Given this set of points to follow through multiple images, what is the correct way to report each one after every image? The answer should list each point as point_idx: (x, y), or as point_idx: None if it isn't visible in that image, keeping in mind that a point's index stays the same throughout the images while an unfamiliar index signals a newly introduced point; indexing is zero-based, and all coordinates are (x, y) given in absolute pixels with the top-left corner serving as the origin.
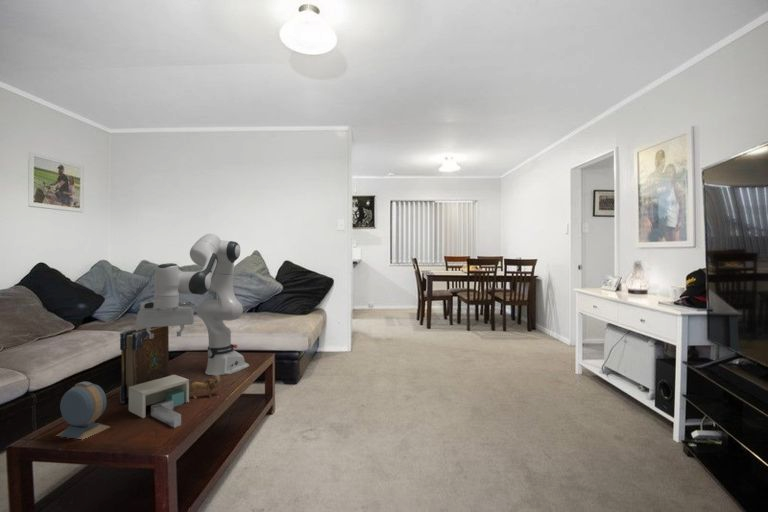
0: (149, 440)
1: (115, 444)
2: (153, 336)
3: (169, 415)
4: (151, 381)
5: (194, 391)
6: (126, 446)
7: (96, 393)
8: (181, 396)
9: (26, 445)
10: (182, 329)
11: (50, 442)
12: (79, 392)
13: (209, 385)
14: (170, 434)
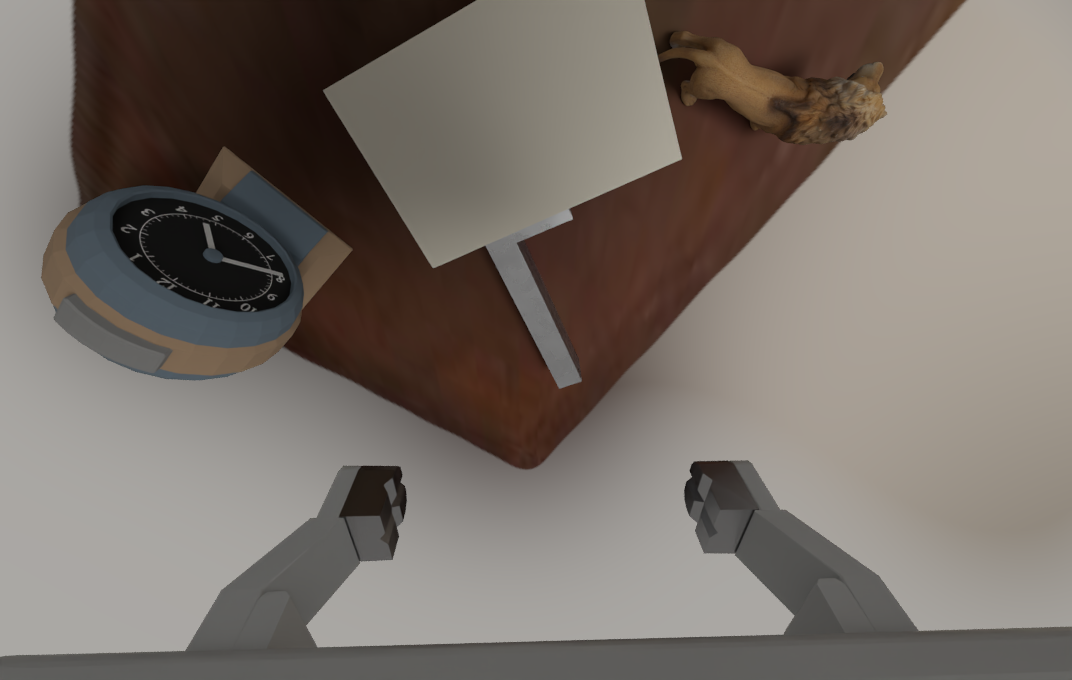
0: (492, 404)
1: (408, 383)
2: (396, 518)
3: (546, 363)
4: (453, 37)
5: (695, 96)
6: (439, 407)
7: (235, 363)
8: None
9: None
10: (797, 595)
11: None
12: (154, 375)
13: (780, 137)
14: (544, 399)
